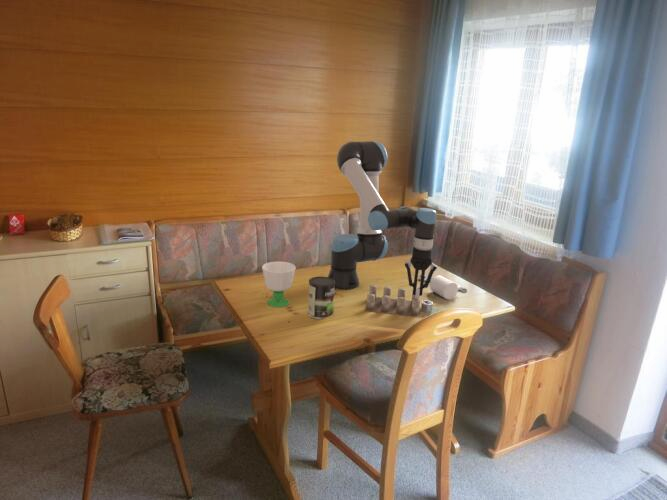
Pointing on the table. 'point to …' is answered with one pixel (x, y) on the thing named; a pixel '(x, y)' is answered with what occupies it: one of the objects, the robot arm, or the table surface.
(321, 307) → the coffee can
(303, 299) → the table surface
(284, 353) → the table surface
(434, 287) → the mug
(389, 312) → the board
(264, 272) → the cup
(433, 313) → the pad
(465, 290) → the adjustable wrench
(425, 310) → the nut
